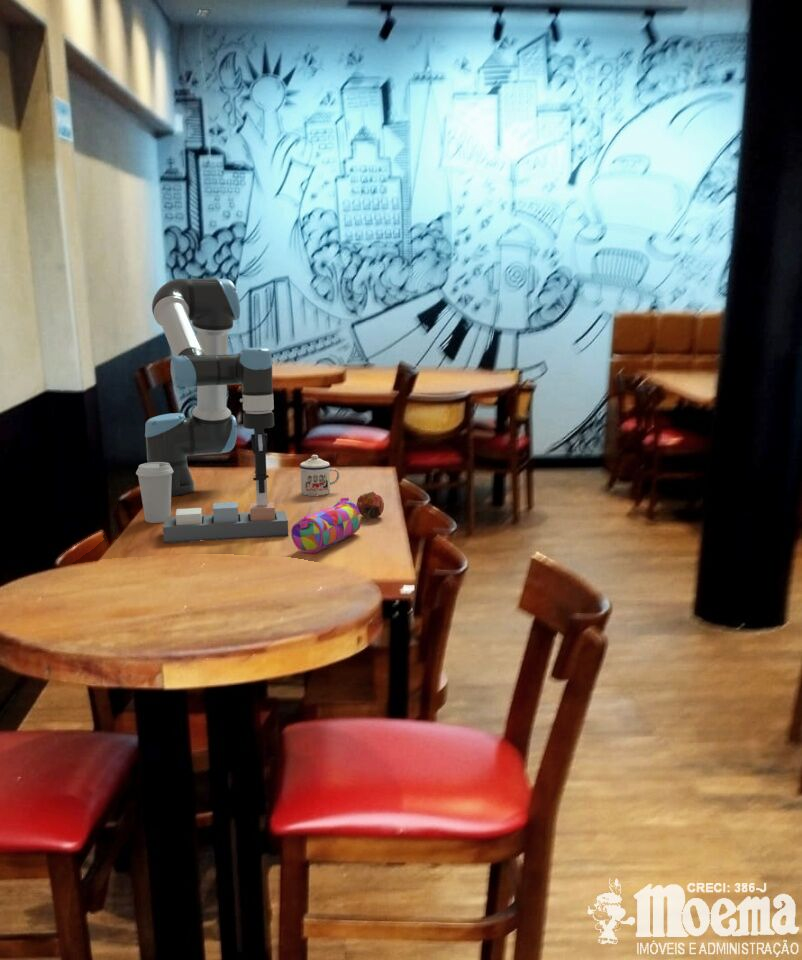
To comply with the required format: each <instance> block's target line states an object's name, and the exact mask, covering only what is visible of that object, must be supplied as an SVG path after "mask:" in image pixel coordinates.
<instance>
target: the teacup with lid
mask: <svg viewBox="0 0 802 960" xmlns="http://www.w3.org/2000/svg"><path fill="white" fill-rule="evenodd" d="M310 457H311V458H308V459H307V460H305V461H302V462H301V463H300V464H299V468H300V490H301V491H300V492H301V494H302V495H303V494H304V495H303V496H306V495H308V497H318V496H317V495H323V496H326V495H325V494H327V495H328V493H329V494H330V492H331V489H330V488H331V486H333V485H335V484H337V483H338V482H339V480H340V478H341V477H340V476H341V475H340V471H339V470H338V469H337V468H335V467H333V468H330V467H331V464H330V462H329V461H326V460H323V459H322V458H319V456H318V455H317V454H312V455H311V456H310ZM331 472H336V478H335V479H334V481H332V482H331V479H330V478H331V477H330V474H331Z"/></svg>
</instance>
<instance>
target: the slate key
mask: <svg viewBox="0 0 802 960" xmlns="http://www.w3.org/2000/svg"><path fill="white" fill-rule="evenodd" d="M212 504H213V505H212V509H213V510H212V512H213V514H212V515H213V516H214V523H225V522H239V520H238V513H239V504H238V501H227V502H213V503H212Z"/></svg>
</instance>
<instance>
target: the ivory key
mask: <svg viewBox="0 0 802 960" xmlns="http://www.w3.org/2000/svg"><path fill="white" fill-rule="evenodd" d="M202 512H203V511H202V507H191V508H189V507H188V508H176V512H175V517H176V525H189V524H202V515H203V514H202Z"/></svg>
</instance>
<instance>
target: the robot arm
mask: <svg viewBox="0 0 802 960" xmlns="http://www.w3.org/2000/svg"><path fill="white" fill-rule="evenodd" d="M151 309H152V315H153V317H154V318H153V319H154V320H155V322H156V324H158V325H159V326H160V327H162V331H163V332H164V335H165V337H166V339H167V342H168V345H169V348H170V350H171V353H172V356H173V357H172V358H171V361H170V375H171V381H172V384H173V385H175V386H176V387H180V388H181V387H182V388H183V387H187V388H192V387H197V390H196V391H197V395H196V396H197V397H196V399H197V403H196V406H195V407H194V408H193V409H192V411H191V414H192V415H191V417H186V415H185V414H184V413H183V412H175V413H172V412H171V413H165V414H160V415H157V416H154V417H153V416H152V417H151V418H149V419H147V421H146V422H145V425H144V426H145V433H144V437H145V444H146V460H147V463H151V462H165V463H169V464H170V466H171V467H172V469H173V473H172V481H171V497H176V496H177V497H178V496H183V495H186V494H190V493H192V492H194V491H195V482H194V478H193V476H192V473H191V471H190V468H189V466H188V457H190V456H203V455H219V454H223V453H225V454H226V453H229V452H231V451H232V450H233V449H234V447H235V445H236V441H237V436H238V425H237V419H236V417H235V416H234V415H233V414H232V411H231V410H230V409H229V408H228V407H227V385H228V386H229V385H230V386H231V385H241V395H242V397H241V398H240V399H239V402H240V403H242V410H243V414H242V420H243V422H242V423H243V425H242V426H243V427H244V428H245V429H247V430H249V429H250V430H253V434H250V439H251V440H250V441H251V443H252V452H253V454H254V474H255V475H254V476H255V477H253V478H252V480H253V481H254V482H255V497H256V502H255V503H257V506H259V505H268V481H267V480H268V479H269V478H270V477H269V474H267V452H268V441H269V440H268V439H269V437H268V434H267V433H265V429H271V428H273V427H275V417H274V415H275V413H274V412H273V410H274V409H275V406H274V401H275V400H274V392H273V391H274V390H273V389H274V386H273V385H274V384H273V383H274V382H273V381H274V379H273V358H272V351H271V350H270V349H269V348H267V347H246V348H242V349H241V350H240V352H238V353H235V354H228V335H229V334H228V333H229V331H231V330H232V329H233V328H234V321H237V320H239V319H240V316H241V306H240V299H239V295H238V291H237V288H236V286H235V283H233V282H232V280H230V279H228V278H227V279H226V278H218V277H215V278H214V277H212V278H211V277H209V278H206V277H205V278H181V277H180V278H174V279H171V280H169V281H168V282H166V283H165V284H164V285H162V286H161V287H160V288H159V289H158V290H157V292H156V293H155V295H154V296H153V299H152V304H151ZM196 331H197V333H196Z"/></svg>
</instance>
